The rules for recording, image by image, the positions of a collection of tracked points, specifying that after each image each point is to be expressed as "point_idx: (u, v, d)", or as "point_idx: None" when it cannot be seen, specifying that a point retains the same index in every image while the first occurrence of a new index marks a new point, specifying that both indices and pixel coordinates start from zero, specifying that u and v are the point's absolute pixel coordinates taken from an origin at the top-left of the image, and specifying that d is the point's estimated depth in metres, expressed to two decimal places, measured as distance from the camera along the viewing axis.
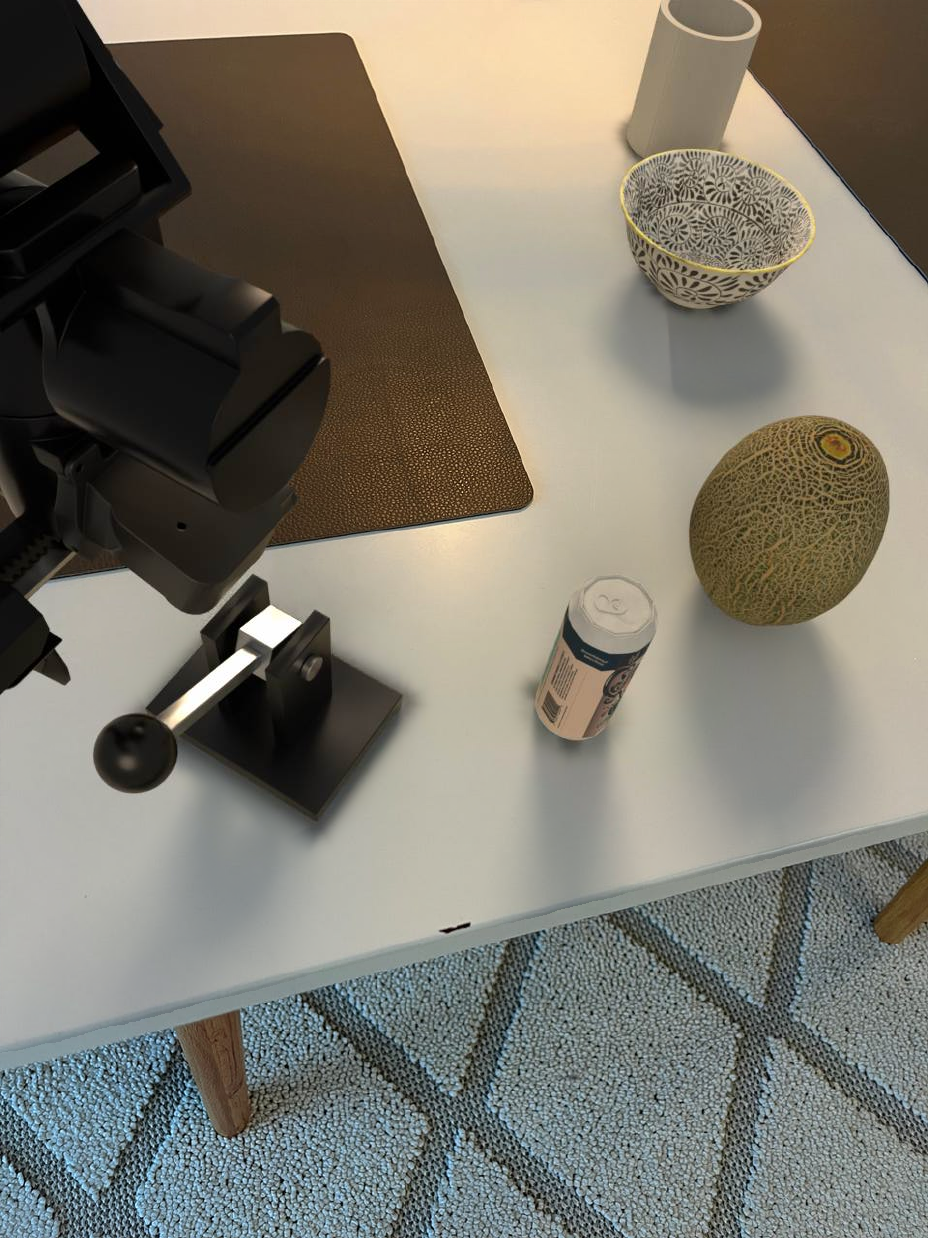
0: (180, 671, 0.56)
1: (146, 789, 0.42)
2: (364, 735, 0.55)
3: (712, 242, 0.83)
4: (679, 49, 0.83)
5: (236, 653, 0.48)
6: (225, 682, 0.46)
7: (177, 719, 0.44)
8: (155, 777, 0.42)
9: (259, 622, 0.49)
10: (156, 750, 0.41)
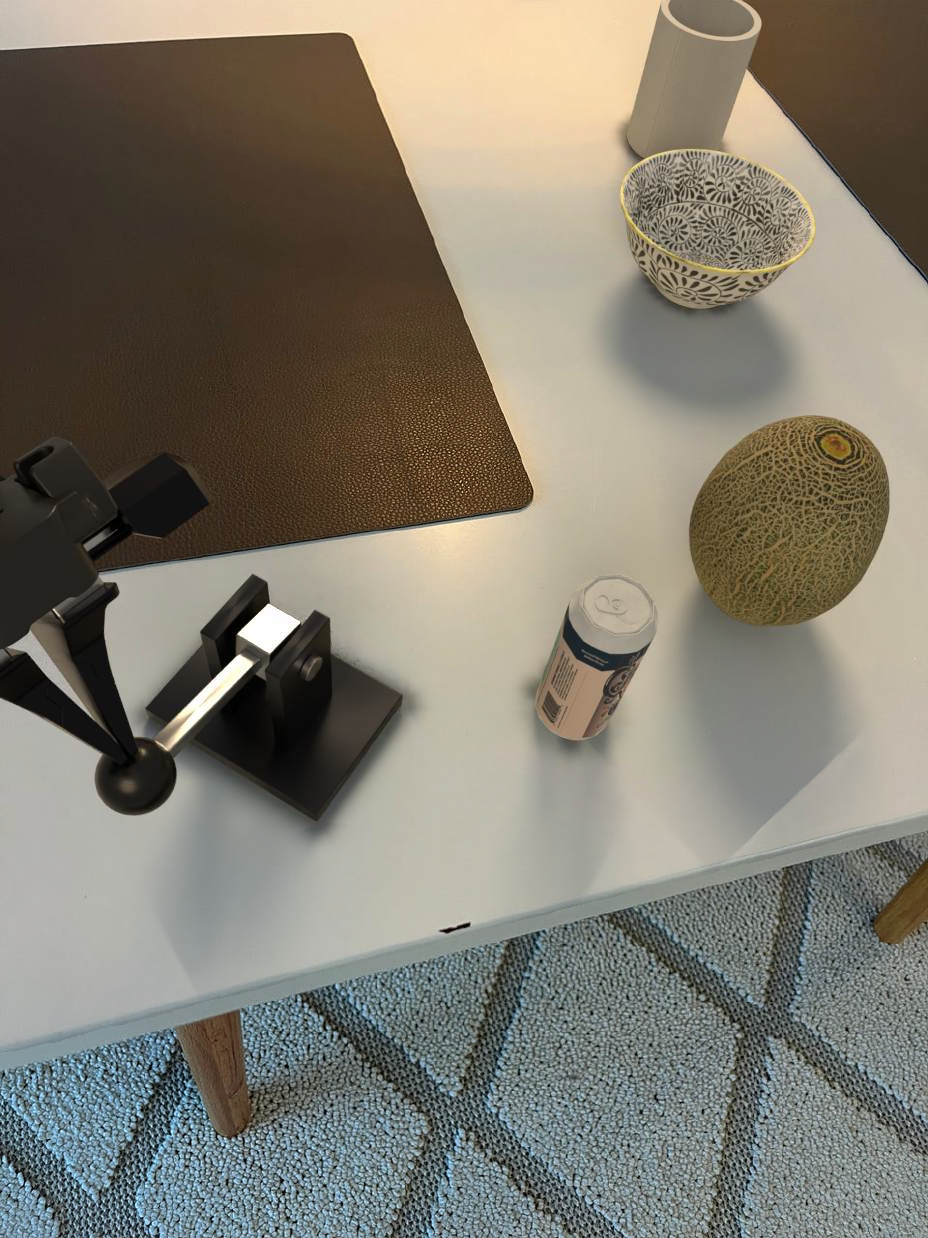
0: (180, 671, 0.56)
1: (147, 812, 0.43)
2: (364, 735, 0.55)
3: (712, 242, 0.83)
4: (679, 49, 0.83)
5: (234, 659, 0.48)
6: (223, 693, 0.47)
7: (175, 738, 0.45)
8: (154, 802, 0.43)
9: (256, 625, 0.49)
10: (152, 778, 0.42)
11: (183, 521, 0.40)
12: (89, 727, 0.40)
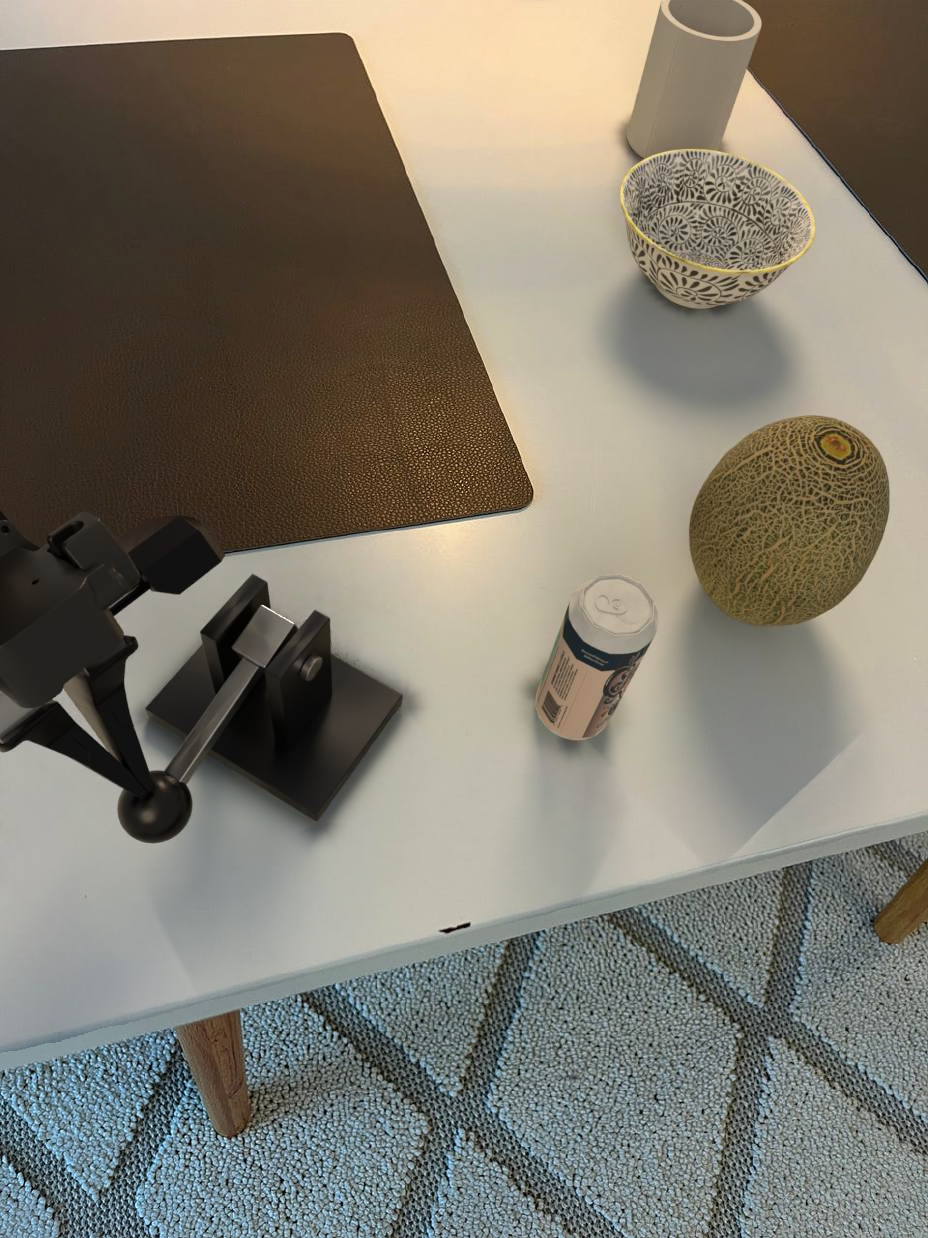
0: (180, 671, 0.56)
1: (171, 838, 0.48)
2: (364, 735, 0.55)
3: (712, 242, 0.83)
4: (679, 48, 0.83)
5: (234, 671, 0.49)
6: (225, 712, 0.48)
7: (184, 767, 0.48)
8: (172, 835, 0.47)
9: (251, 633, 0.49)
10: (163, 819, 0.46)
11: (197, 578, 0.44)
12: (113, 766, 0.44)
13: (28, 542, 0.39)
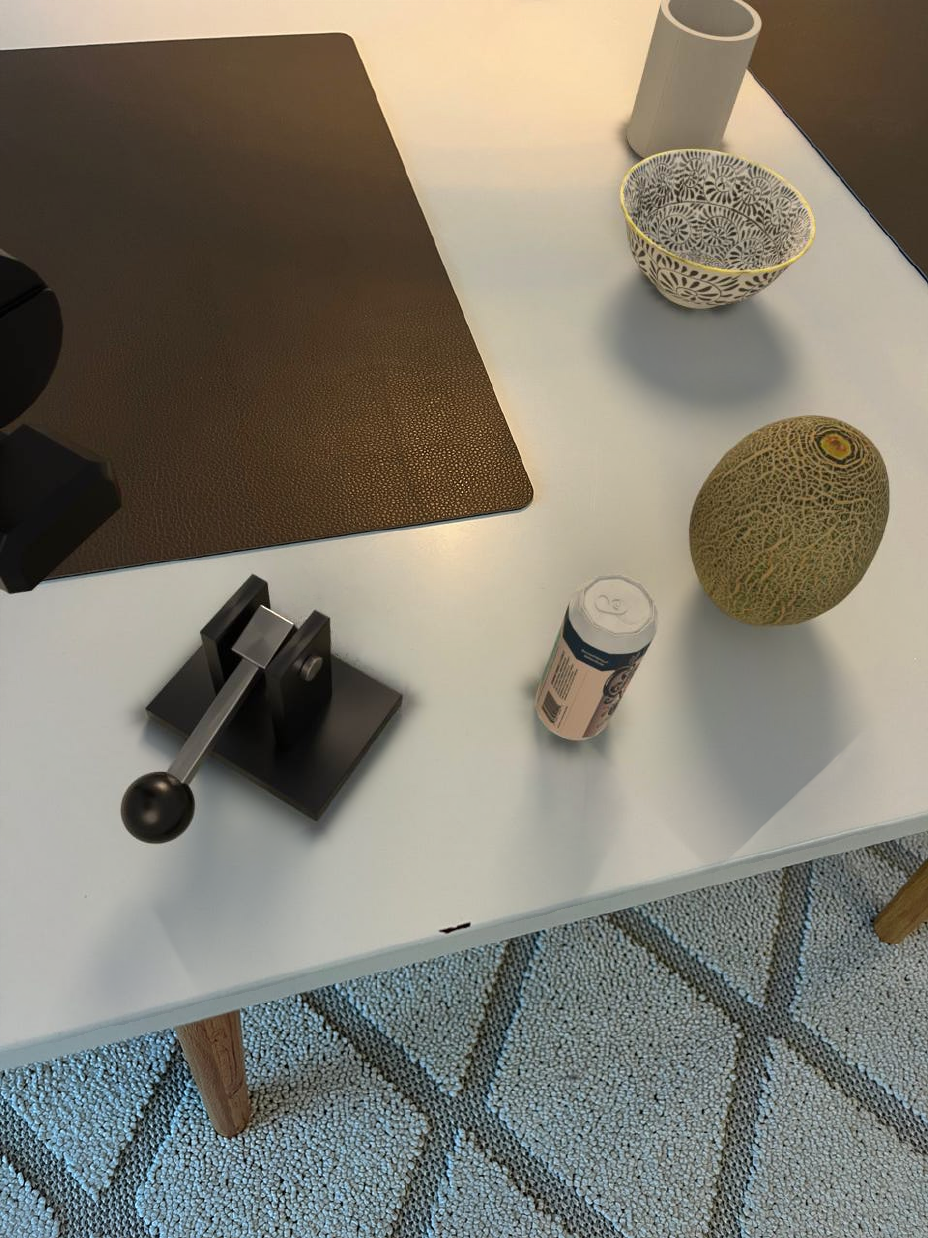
0: (180, 671, 0.56)
1: None
2: (364, 735, 0.55)
3: (712, 242, 0.83)
4: (679, 49, 0.83)
5: (235, 672, 0.49)
6: (226, 713, 0.49)
7: (186, 768, 0.48)
8: (175, 835, 0.47)
9: (250, 634, 0.49)
10: (166, 821, 0.46)
11: None
12: None
13: None
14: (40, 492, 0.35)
